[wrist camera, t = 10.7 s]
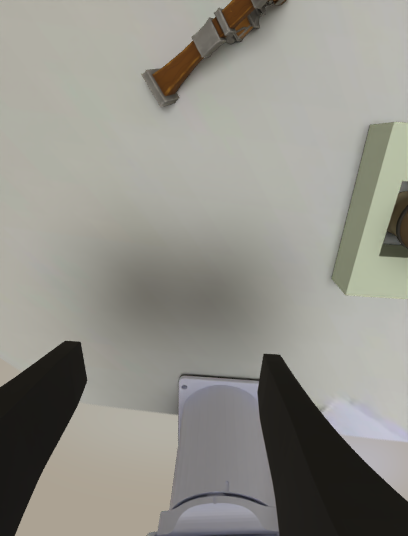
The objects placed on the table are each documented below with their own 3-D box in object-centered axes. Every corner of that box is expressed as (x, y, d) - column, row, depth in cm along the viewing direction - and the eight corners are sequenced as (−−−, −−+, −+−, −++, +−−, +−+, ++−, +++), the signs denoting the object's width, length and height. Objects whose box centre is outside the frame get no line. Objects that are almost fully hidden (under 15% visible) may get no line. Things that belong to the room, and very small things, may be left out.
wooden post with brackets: (313, -6, 14) (300, -24, 11) (193, 97, 19) (158, 107, 15) (297, -48, 13) (279, -81, 10) (178, 70, 18) (138, 74, 15)
